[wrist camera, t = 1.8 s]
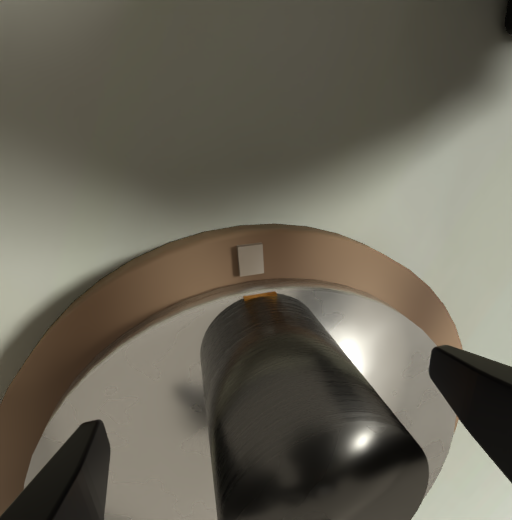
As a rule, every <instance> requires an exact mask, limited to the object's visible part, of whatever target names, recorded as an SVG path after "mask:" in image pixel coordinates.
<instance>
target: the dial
mask: <svg viewBox="0 0 512 520" xmlns="http://www.w3.org/2000/svg"><path fill="white" fill-rule="evenodd" d="M434 347H437V345H436V344H435V343H434V342H433V341H432V340H431V339H430V338H429V336H428V335H427V334H426V333H425V332H424V331H423V330H422V329H421V328H420V327H418V326H417V325H416V324H414V323H413V322H412V321H410V320H409V319H408V318H406V317H405V316H404V315H402V314H401V313H400V312H398V311H397V310H396V309H394V308H393V307H392V306H390V305H389V304H388V303H386V302H384V301H382V300H380V299H378V298H377V297H375V296H373V295H371V294H369V293H367V292H364V291H361V290H358V289H355V288H352V287H349V286H346V285H343V284H339V283H333V282H328V281H322V280H316V279H298V278H278V279H267V280H255V281H249V282H244V283H239V284H235V285H230V286H225V287H220V288H217V289H214V290H211V291H208V292H205V293H202V294H199V295H196V296H193V297H190V298H187V299H185V300H183V301H181V302H178V303H176V304H174V305H172V306H170V307H168V308H166V309H164V310H162V311H159V312H157V313H155V314H153V315H152V316H150V317H148V318H147V319H145V320H144V321H142V322H141V323H139V324H137V325H136V326H134V327H133V328H131V329H129V330H128V331H126V332H125V333H123V334H122V335H121V336H120V337H118V338H117V339H116V340H115V341H113V342H112V343H111V344H110V345H108V346H107V347H106V348H105V349H104V350H102V351H101V352H100V353H99V354H97V355H96V357H95V358H94V359H93V360H92V361H91V362H90V363H89V364H88V365H87V366H86V367H85V368H84V369H83V370H82V371H81V372H80V374H79V375H78V376H77V377H76V378H75V379H74V380H73V382H72V383H71V385H70V386H69V388H68V389H67V390H66V392H65V393H64V395H63V396H62V397H61V399H60V400H59V402H58V403H57V405H56V407H55V409H54V411H53V413H52V415H51V417H50V419H49V421H48V423H47V425H46V427H45V430H44V432H43V434H42V436H41V438H40V440H39V442H38V444H37V447H36V449H35V451H34V453H33V455H32V458H31V461H30V465H29V468H28V472H27V475H26V479H25V482H24V489H25V487H26V486H27V485H28V484H29V483H30V482H31V481H32V479H33V478H34V477H35V476H36V475H37V474H38V473H39V471H40V470H41V469H42V468H43V467H44V466H45V465H46V463H47V462H48V461H49V460H50V459H51V458H52V457H53V456H54V454H55V453H56V452H57V451H58V450H59V449H60V448H61V446H62V445H63V444H64V443H65V442H66V441H67V440H68V438H69V437H70V436H71V435H72V434H73V433H74V432H75V430H76V429H77V428H78V427H79V426H80V425H81V424H82V423H84V422H88V421H92V420H97V419H100V420H102V421H103V423H104V426H105V429H106V433H107V436H108V439H109V443H110V449H111V454H110V464H109V474H108V484H107V494H106V504H105V514H104V520H411V519H412V517H413V516H414V514H415V513H416V511H417V510H418V508H419V506H420V504H421V502H422V500H423V499H424V497H425V496H426V494H427V493H428V492H429V490H430V489H431V487H432V485H433V483H434V482H435V480H436V478H437V476H438V474H439V473H440V471H441V469H442V466H443V464H444V462H445V459H446V457H447V455H448V452H449V448H450V445H451V441H452V438H453V434H454V428H455V421H456V414H455V412H454V411H453V410H452V408H451V407H450V405H449V404H448V403H447V401H446V400H445V398H444V397H443V395H442V394H441V393H440V391H439V390H438V388H437V387H436V386H435V384H434V383H433V381H432V380H431V378H430V376H429V373H428V367H429V361H430V355H431V350H432V349H433V348H434Z"/></svg>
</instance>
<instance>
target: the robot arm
mask: <svg viewBox="0 0 512 520" xmlns="http://www.w3.org/2000/svg"><path fill="white" fill-rule="evenodd" d="M505 27H506V31H507V32H508V33H509V34H510V35H512V0H509V1H508V6H507V12H506V17H505ZM428 373H429V376H430V378H431V380H432V381H433V383H434V384H435V386H436V387H437V388H438V390H439V391H440V393H441V394H442V395H443V397H444V398H445V400H446V401H447V403H448V404H449V405H450V407H451V408H452V410H453V411H454V412H455V414H456V415H457V417H458V418H459V420H460V421H461V422H462V424H463V425H464V426H465V428H466V429H467V430H468V431H469V433H470V434H471V435H472V436H473V438H474V439H475V440H476V441H477V442H478V444H479V445H480V446H481V447H482V448H483V450H484V451H485V452H486V453H487V454H488V455H489V457H490V458H491V459H492V460H493V461H494V463H495V464H496V465H497V466H498V467H499V469H500V470H501V471H502V472H503V473H504V475H505V476H506V477H507V478H508V479H509V481H510V482H511V483H512V367H510V366H508V365H505V364H502V363H499V362H496V361H493V360H490V359H487V358H484V357H482V356H479V355H476V354H473V353H470V352H467V351H464V350H461V349H458V348H456V347H453V346H450V345H441V346H437V347H434V348H433V349H432V350H431V355H430V361H429V367H428ZM110 454H111V449H110V443H109V439H108V436H107V433H106V429H105V426H104V423H103V421H102V420H100V419H97V420H92V421H88V422H84V423H82V424H81V425H80V426H79V427H78V428H77V429H76V430H75V432H74V433H73V434H72V435H71V436H70V437H69V438H68V440H67V441H66V442H65V443H64V444H63V445H62V446H61V448H60V449H59V450H58V451H57V452H56V453H55V454H54V456H53V457H52V458H51V459H50V460H49V461H48V462H47V463H46V465H45V466H44V467H43V468H42V469H41V470H40V471H39V473H38V474H37V475H36V476H35V477H34V478H33V479H32V481H31V482H30V483H29V484H28V485H27V486H26V487H25V489H24V490H23V491H22V492H21V493H20V494H19V495H18V497H17V498H16V499H15V500H14V501H13V502H12V503H11V505H10V506H9V507H8V508H7V509H6V510H5V511H4V513H3V514H2V515H1V516H0V520H104V514H105V504H106V494H107V484H108V474H109V464H110Z"/></svg>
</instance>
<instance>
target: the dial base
mask: <svg viewBox="0 0 512 520" xmlns="http://www.w3.org/2000/svg"><path fill="white" fill-rule="evenodd" d="M278 278H298V279H316V280H322V281H328V282H333V283H339V284H343V285H346V286H349V287H352V288H355V289H358V290H361V291H364V292H367V293H369V294H371V295H373V296H375V297H377V298H378V299H380V300H382V301H384V302H386V303H388V304H389V305H390V306H392V307H393V308H394V309H396V310H397V311H398V312H400V313H401V314H402V315H404V316H405V317H406V318H408V319H409V320H410V321H412V322H413V323H414V324H416V325H417V326H418V327H420V328H421V329H422V330H423V331H424V332H425V333H426V334H427V335H428V336H429V338H430V339H431V340H432V341H433V342H434V343H435V344H436V345H437V346H441V345H450V346H453V347H456V348H458V349H461V350H462V345H461V342H460V339H459V336H458V332H457V329H456V326H455V324H454V322H453V320H452V319H451V317H450V315H449V313H448V311H447V309H446V307H445V306H444V304H443V303H442V302H441V301H440V299H439V298H438V297H437V296H436V294H435V293H434V292H433V291H432V289H431V288H430V287H429V286H428V285H427V284H426V283H424V282H423V281H422V280H421V279H420V278H419V277H417V276H416V275H415V274H414V273H413V272H412V271H410V270H409V269H407V268H406V267H404V266H402V265H401V264H399V263H397V262H396V261H394V260H392V259H391V258H389V257H387V256H386V255H384V254H382V253H380V252H378V251H376V250H374V249H372V248H370V247H369V246H367V245H365V244H363V243H360V242H358V241H355V240H353V239H350V238H348V237H345V236H342V235H340V234H337V233H333V232H329V231H325V230H320V229H316V228H312V227H307V226H295V225H283V224H260V225H240V226H234V227H229V228H223V229H217V230H212V231H206V232H202V233H199V234H196V235H193V236H189V237H186V238H183V239H180V240H177V241H173V242H170V243H167V244H165V245H163V246H161V247H159V248H156V249H154V250H152V251H150V252H148V253H145V254H143V255H141V256H139V257H137V258H135V259H132V260H131V261H129V262H128V263H126V264H124V265H123V266H121V267H120V268H118V269H116V270H115V271H113V272H112V273H110V274H108V275H107V276H105V277H104V278H102V279H100V280H99V281H98V282H97V283H96V284H94V285H93V286H92V287H91V288H90V289H88V290H87V291H86V292H85V293H83V294H82V295H81V296H80V297H79V298H77V299H76V300H75V301H74V302H73V303H71V305H70V306H69V307H68V308H67V309H66V310H65V311H64V312H63V313H62V314H61V316H60V317H59V318H58V319H57V320H56V321H55V322H54V323H53V324H52V325H51V326H50V328H49V329H48V330H47V331H46V333H45V334H44V335H43V337H42V338H41V340H40V341H39V343H38V344H37V345H36V347H35V348H34V350H33V351H32V353H31V354H30V355H29V357H28V358H27V360H26V361H25V363H24V364H23V366H22V367H21V369H20V370H19V372H18V373H17V375H16V376H15V378H14V379H13V381H12V382H11V384H10V385H9V387H8V389H7V391H6V393H5V396H4V398H3V400H2V402H1V405H0V516H1V515H2V514H3V513H4V511H5V510H6V509H7V508H8V507H9V506H10V505H11V503H12V502H13V501H14V500H15V499H16V498H17V497H18V495H19V494H20V493H21V492H22V491H23V490H24V482H25V479H26V475H27V472H28V468H29V465H30V461H31V458H32V455H33V453H34V451H35V449H36V447H37V444H38V442H39V440H40V438H41V436H42V434H43V432H44V430H45V427H46V425H47V423H48V421H49V419H50V417H51V415H52V413H53V411H54V409H55V407H56V405H57V403H58V402H59V400H60V399H61V397H62V396H63V395H64V393H65V392H66V390H67V389H68V388H69V386H70V385H71V383H72V382H73V380H74V379H75V378H76V377H77V376H78V375H79V374H80V372H81V371H82V370H83V369H84V368H85V367H86V366H87V365H88V364H89V363H90V362H91V361H92V360H93V359H94V358H95V357H96V355H97V354H99V353H100V352H101V351H102V350H104V349H105V348H106V347H107V346H108V345H110V344H111V343H112V342H113V341H115V340H116V339H117V338H118V337H120V336H121V335H122V334H123V333H125V332H126V331H128V330H129V329H131V328H133V327H134V326H136V325H137V324H139V323H141V322H142V321H144V320H145V319H147V318H148V317H150V316H152V315H153V314H155V313H157V312H159V311H162V310H164V309H166V308H168V307H170V306H172V305H174V304H176V303H178V302H181V301H183V300H185V299H187V298H190V297H193V296H196V295H199V294H202V293H205V292H208V291H211V290H214V289H217V288H220V287H225V286H230V285H235V284H239V283H244V282H249V281H255V280H267V279H278ZM458 419H459V418H458V417H457V415H456V421H455V428H454V432H455V429H456V426H457V423H458Z"/></svg>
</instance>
